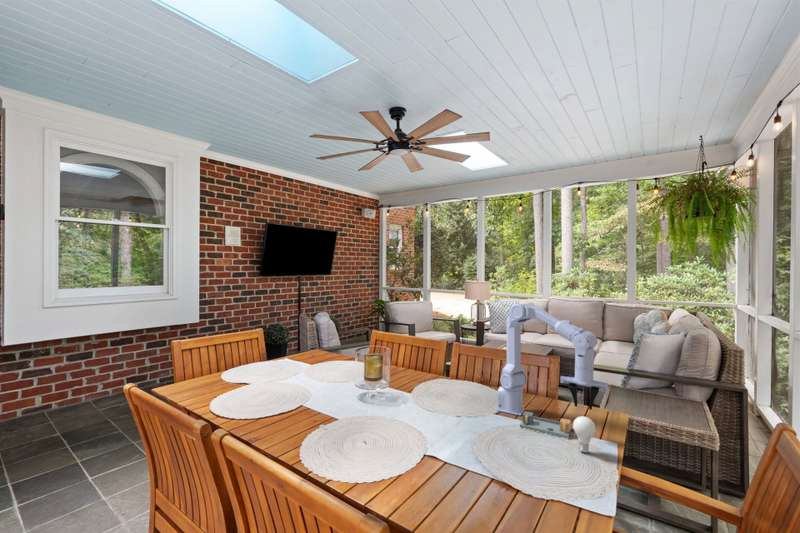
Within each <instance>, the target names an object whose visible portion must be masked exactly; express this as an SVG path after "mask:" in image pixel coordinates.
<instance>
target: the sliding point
mask: <svg viewBox="0 0 800 533" xmlns="http://www.w3.org/2000/svg"><path fill="white" fill-rule="evenodd" d="M559 422H560V430H561V431H563V432H570V425H571V420H570V419H567V418H560V421H559ZM570 433H571V432H570Z"/></svg>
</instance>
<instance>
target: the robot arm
mask: <svg viewBox="0 0 800 533" xmlns="http://www.w3.org/2000/svg"><path fill="white" fill-rule="evenodd" d="M508 310H509V311H508V312H509V313H508V316H507V319H506V321H505V322H506V324H505V325H506V329H505V330H506V331H505V332H506V364H505V366H504V367H502V369H501V370H502V371H501V376H500V384H501V385H500V386H499V387H498V389H497V397H496V398H497V401H496V404H497V407H496V411H498V412H502V413H507V414H511V415H515V416H523V413H524V412H525V409H526V408H524V407H523V396H524V395H523V391H524V390H523V389H524V386H525V385H526V384H527V381H528V379H527V375H526V373H525V372H526V371H525V368H524V367H523V366H522V356H521V355H522V354H521V352H522V348H521V347H522V343H521V340H522V339H521V337H522V336H521V334H522V332H521V326H522V325H524V323H526V322H527V321H530V320H533V319H536V320H538V321H540V322H543V324H546V325H548V326H549V327H552V328H553V329H554V331H555V333H556V334H557V335H558V336H560V337H562V338H564V339H565V340H567V341H568V342H570V343H572V346H573V347H574V350H575V351H574V354H575V356H574V376H563V375H560V380H559V381H560V384H568V389H569V391H570V394H571V396H572V399H573V403H574V407H575V408H578V386H580V387H581V386H582V387H586V388H590V390H589V392H590V394H589V407H588V408H589V409H588V410H590V411H591V410H592V409H593V405H594V402H595V399H596V397H597V396H598V394H599V392H600V390H604V391H609V383H607V382H602V381H599V380H595V379H594V366H595V364H594V363H595V362H594V361H595V347H597V344H598V339H597V338H598V337H597V336H596V335H595V334H594V333H593V332H592V331H588V330H586V331H584V328H583V327H579V326H576V325H574V324H573V323H572V321H571V320H569V319H567V320H566V319H563V320H560V319H558V318H556V317H555V316H553V315H552V314H550V313H549V312H547V311H546V310H545V309H542V308H541V307H540V306H539V305H537V304H534V303H532V302H527V303H514V304H513V305H512V306H510V307H509V308H508Z"/></svg>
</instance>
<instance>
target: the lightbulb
mask: <svg viewBox="0 0 800 533" xmlns="http://www.w3.org/2000/svg"><path fill="white" fill-rule="evenodd" d="M572 427H573V431H574V432H575V434H576V436H577V440H578V445H579V446H578V450H579V451H580V452H581V453H585V454H586V453H589V446H590V442H591V439H592V438H593V437H594V435H595V433H596V430H597V428H596V425H595V423H594V421H593V420H592V419H591V418H590V417H588V416H584V415H582V416H577V417H576V418H575V419H574V420H573V423H572Z"/></svg>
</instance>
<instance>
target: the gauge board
mask: <svg viewBox="0 0 800 533" xmlns="http://www.w3.org/2000/svg"><path fill="white" fill-rule="evenodd" d="M520 427H521V428H520ZM572 427H573V424H572V425H571V424H570V432H563V431H561V430H560V421H557V420H553V419H549V418H543V417H539V416H534V412H531V411H525V410H524V412H523V413H522V421H521V422H520V424H519V428H520V429H523V428H526V429H525V430H527V429H530V430H529V431H531V430H534V431H533V432H536V431H539V432H538V433H540V432H543V433H542V434H544V433H547V434H546V435H548V434H552V435H556V436H555V437H557V436H559V437H558V438H561V437H564V438H563V439H565V438H568V439H567V440H570V436H569V435H571V432H572ZM552 435H551V436H552Z"/></svg>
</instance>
